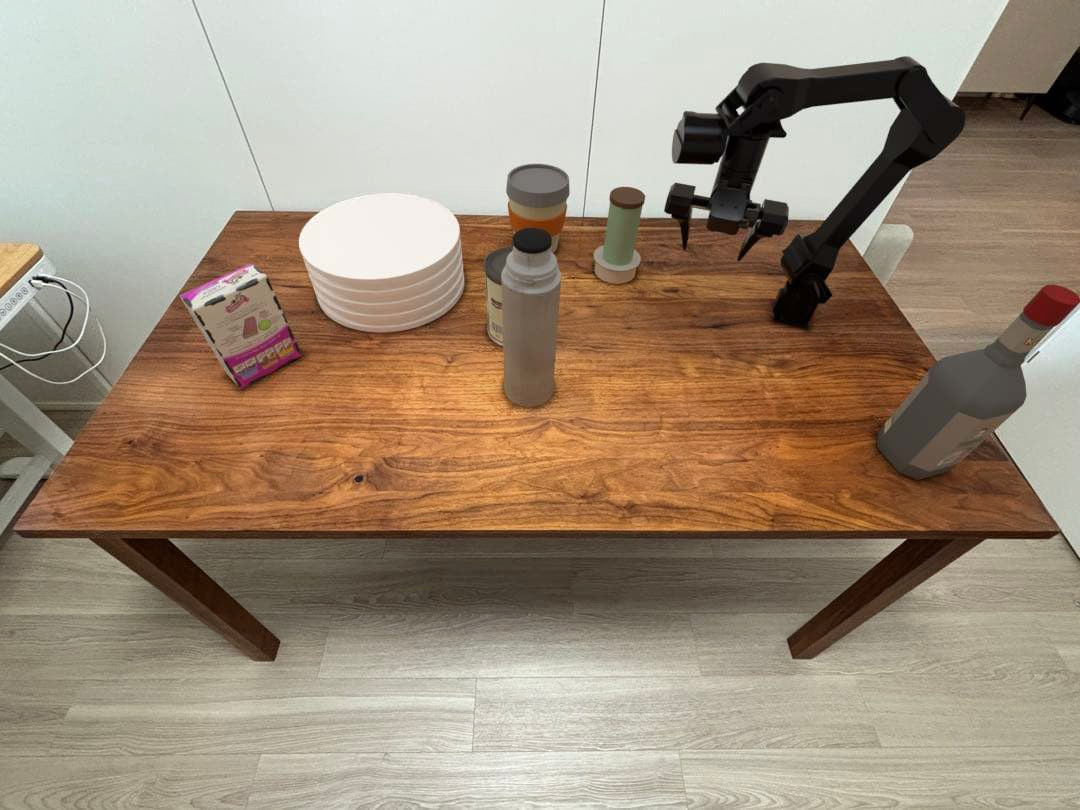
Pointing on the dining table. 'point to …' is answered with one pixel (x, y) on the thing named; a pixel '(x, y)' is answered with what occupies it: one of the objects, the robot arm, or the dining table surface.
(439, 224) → the plate stack
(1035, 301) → the liquor
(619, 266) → the coffee pod
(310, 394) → the dining table surface
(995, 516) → the dining table surface
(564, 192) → the reusable coffee cup
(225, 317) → the candy bar box
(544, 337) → the thermos bottle
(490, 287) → the coffee can
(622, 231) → the cylinder
